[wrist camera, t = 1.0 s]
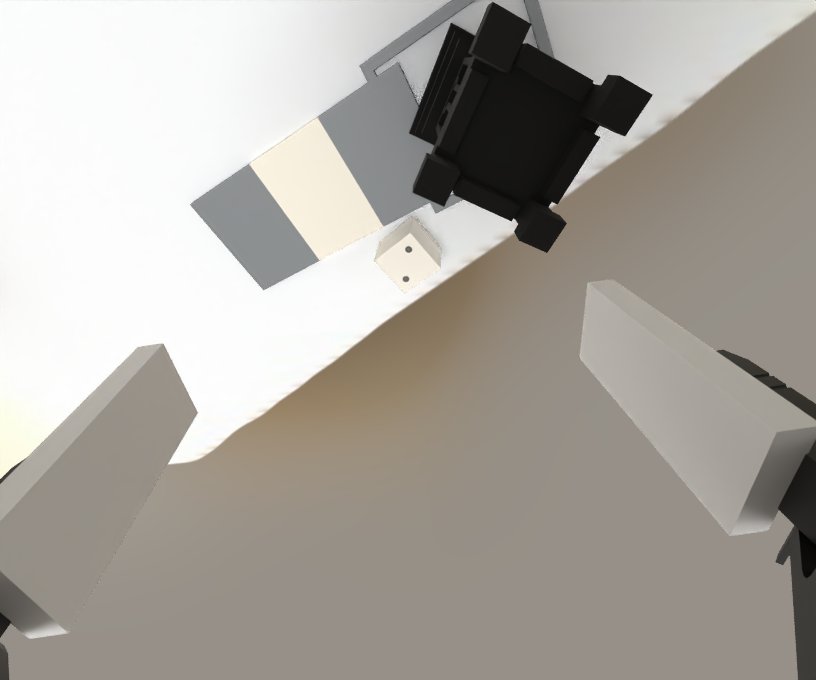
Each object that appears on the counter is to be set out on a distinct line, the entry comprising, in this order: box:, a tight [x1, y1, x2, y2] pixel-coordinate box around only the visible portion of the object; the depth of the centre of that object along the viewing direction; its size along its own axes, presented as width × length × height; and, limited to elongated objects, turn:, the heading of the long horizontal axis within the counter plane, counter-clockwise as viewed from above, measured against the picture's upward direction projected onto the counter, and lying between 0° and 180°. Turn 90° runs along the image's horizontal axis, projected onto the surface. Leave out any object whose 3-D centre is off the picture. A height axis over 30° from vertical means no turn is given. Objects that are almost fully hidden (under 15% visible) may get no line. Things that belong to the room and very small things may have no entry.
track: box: [190, 62, 434, 290], centre depth 39 cm, size 24×11×1 cm, turn 119°
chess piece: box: [409, 2, 652, 253], centre depth 25 cm, size 8×8×20 cm
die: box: [374, 216, 441, 293], centre depth 40 cm, size 4×4×5 cm
